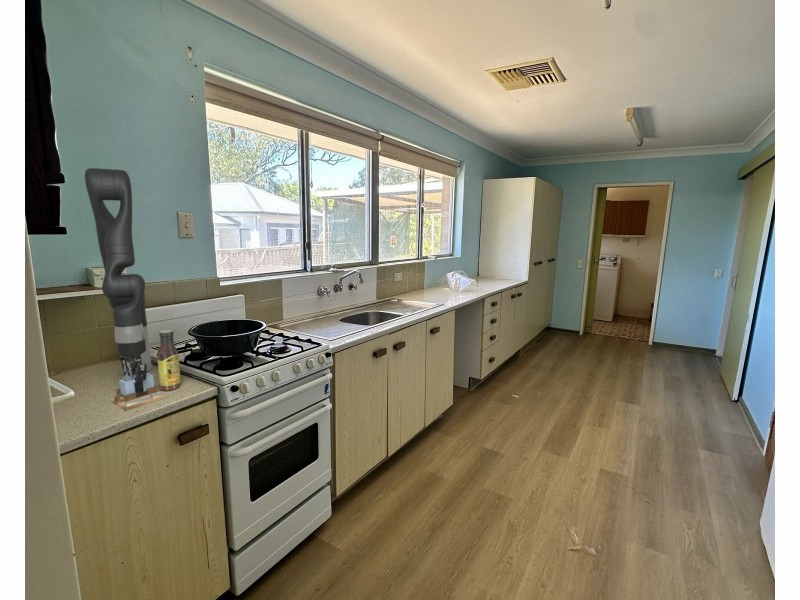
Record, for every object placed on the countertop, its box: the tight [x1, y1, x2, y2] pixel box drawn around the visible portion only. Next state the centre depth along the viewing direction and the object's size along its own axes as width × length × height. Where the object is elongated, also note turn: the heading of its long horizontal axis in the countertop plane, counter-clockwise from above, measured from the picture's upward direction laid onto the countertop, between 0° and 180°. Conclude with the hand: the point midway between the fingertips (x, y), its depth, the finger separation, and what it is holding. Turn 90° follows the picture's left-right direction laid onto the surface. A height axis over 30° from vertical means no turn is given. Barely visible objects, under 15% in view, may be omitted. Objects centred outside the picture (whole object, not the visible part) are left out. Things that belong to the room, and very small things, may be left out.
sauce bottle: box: [156, 329, 181, 392], centre depth 130 cm, size 6×6×20 cm
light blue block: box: [118, 372, 155, 397], centre depth 123 cm, size 4×8×6 cm, turn 145°
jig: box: [109, 384, 167, 412], centre depth 123 cm, size 11×12×4 cm
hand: (136, 390), depth 123 cm, fingers closed on light blue block, 4 cm apart
